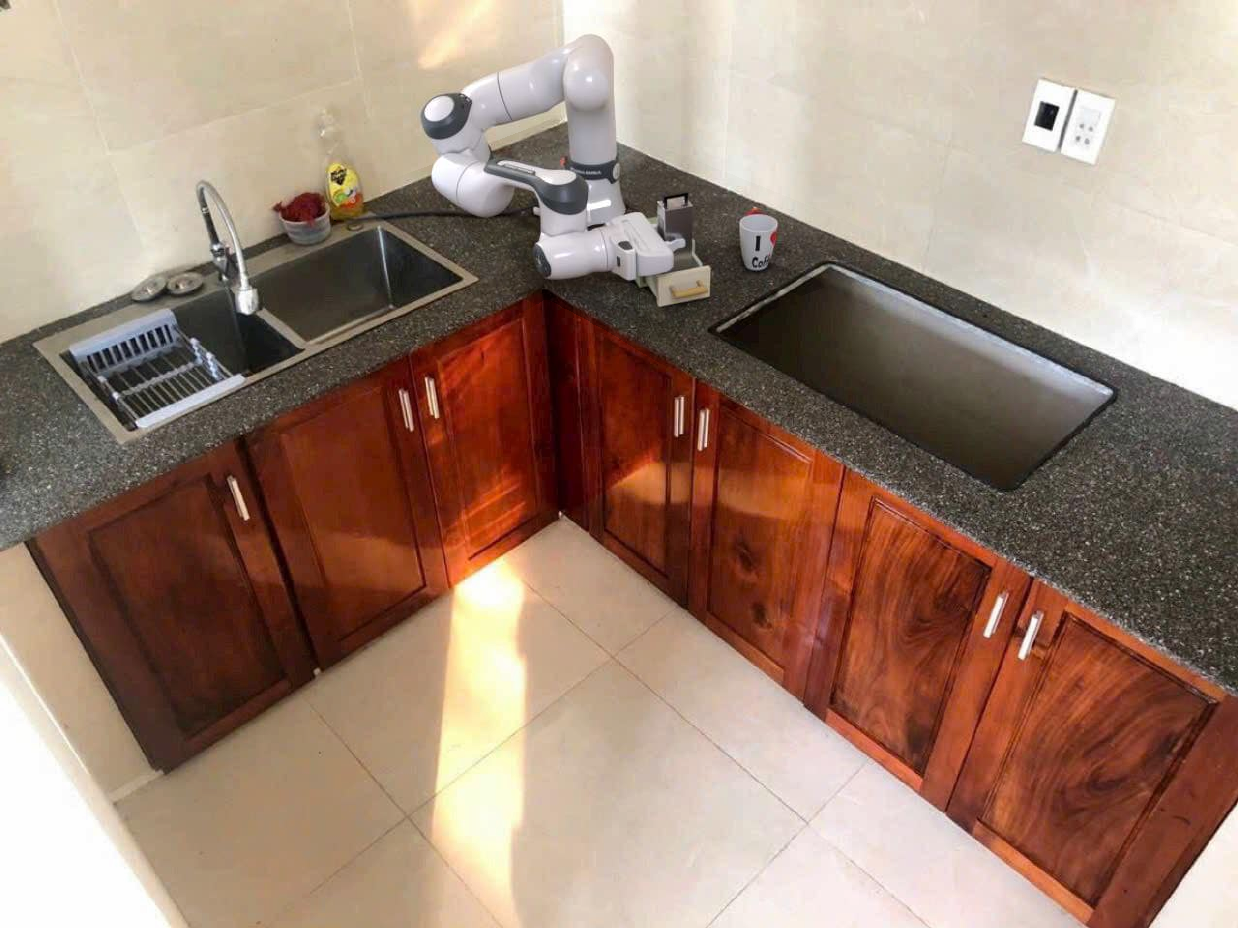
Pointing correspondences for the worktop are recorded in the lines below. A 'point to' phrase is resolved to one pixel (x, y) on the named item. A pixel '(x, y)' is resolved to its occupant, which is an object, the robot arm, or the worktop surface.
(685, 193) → the grater
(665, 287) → the drawer
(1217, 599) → the worktop surface
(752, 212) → the onion
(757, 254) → the cup
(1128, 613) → the worktop surface
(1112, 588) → the worktop surface
